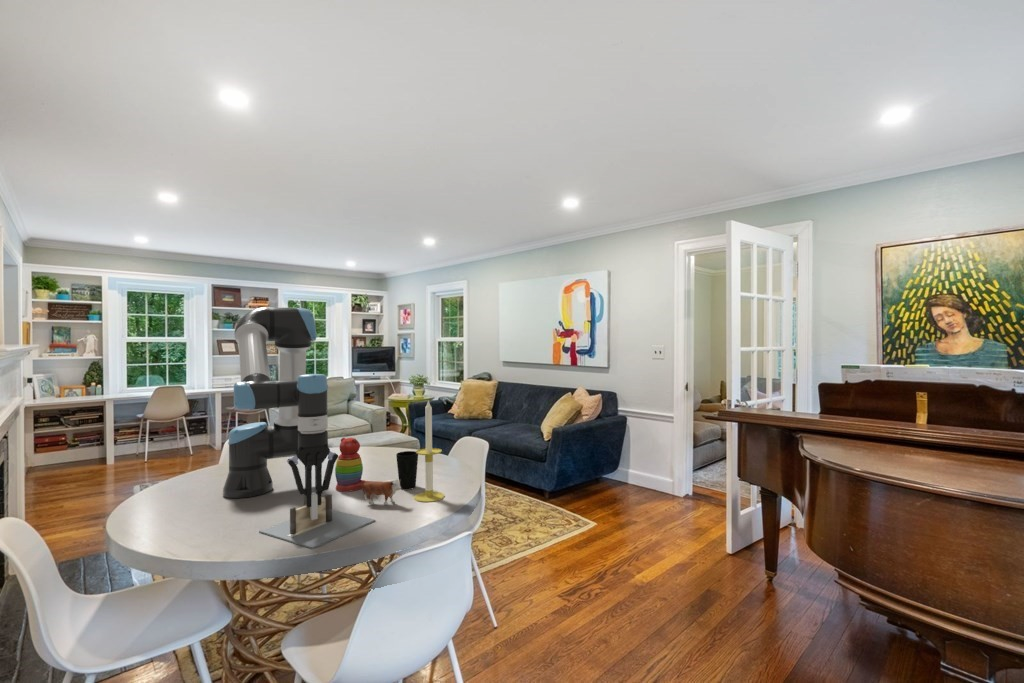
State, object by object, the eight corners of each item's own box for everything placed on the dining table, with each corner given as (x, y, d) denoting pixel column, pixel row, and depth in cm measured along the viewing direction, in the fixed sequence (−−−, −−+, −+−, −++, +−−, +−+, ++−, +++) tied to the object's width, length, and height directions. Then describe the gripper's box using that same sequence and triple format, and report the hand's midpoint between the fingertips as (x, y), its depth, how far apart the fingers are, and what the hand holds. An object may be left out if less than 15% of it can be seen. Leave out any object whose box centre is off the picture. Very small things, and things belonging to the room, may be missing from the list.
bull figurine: (399, 507, 147) (399, 481, 147) (360, 504, 150) (360, 479, 150) (405, 502, 151) (405, 477, 151) (367, 500, 154) (366, 475, 154)
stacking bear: (371, 485, 170) (371, 436, 170) (351, 493, 161) (350, 441, 161) (348, 482, 175) (348, 434, 175) (327, 489, 166) (327, 439, 166)
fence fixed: (302, 515, 140) (301, 490, 140) (307, 513, 141) (307, 489, 141) (328, 522, 134) (328, 496, 134) (333, 520, 136) (333, 494, 136)
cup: (423, 486, 169) (422, 452, 169) (407, 491, 163) (407, 457, 163) (407, 482, 173) (407, 450, 173) (391, 488, 167) (391, 454, 167)
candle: (443, 501, 152) (442, 400, 152) (412, 502, 151) (411, 401, 151) (445, 492, 162) (444, 397, 162) (415, 493, 161) (415, 398, 161)
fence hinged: (322, 520, 134) (322, 497, 134) (326, 521, 134) (325, 497, 134) (288, 533, 125) (288, 508, 125) (292, 534, 124) (292, 509, 124)
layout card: (259, 532, 128) (259, 530, 128) (324, 508, 147) (324, 507, 147) (312, 549, 117) (312, 547, 117) (375, 521, 136) (375, 519, 136)
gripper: (289, 436, 122) (289, 527, 121) (341, 430, 129) (341, 516, 129) (284, 431, 128) (285, 518, 128) (334, 426, 135) (335, 509, 135)
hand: (313, 517), depth 128 cm, fingers closed
